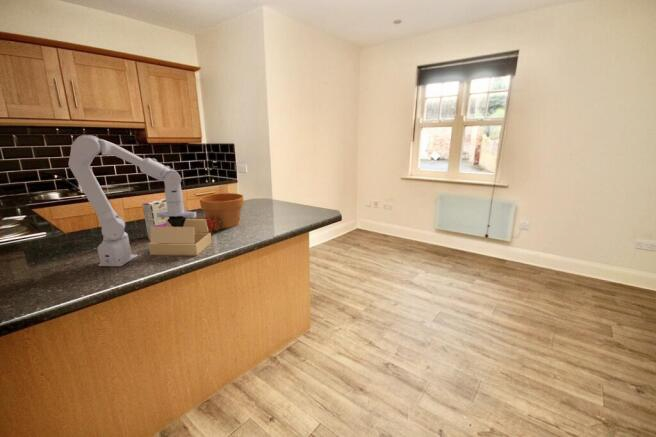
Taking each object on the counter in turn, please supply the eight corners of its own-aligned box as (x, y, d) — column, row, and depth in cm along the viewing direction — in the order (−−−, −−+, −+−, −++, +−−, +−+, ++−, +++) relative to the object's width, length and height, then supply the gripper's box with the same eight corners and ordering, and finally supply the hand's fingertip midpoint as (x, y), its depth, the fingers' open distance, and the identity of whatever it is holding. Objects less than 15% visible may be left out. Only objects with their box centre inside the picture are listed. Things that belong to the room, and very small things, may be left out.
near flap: (194, 243, 109) (193, 243, 108) (151, 242, 109) (150, 242, 108) (194, 227, 109) (193, 227, 108) (151, 226, 109) (150, 226, 108)
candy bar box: (166, 232, 137) (161, 198, 132) (175, 232, 136) (170, 198, 131) (147, 239, 126) (141, 203, 122) (157, 240, 125) (151, 204, 121)
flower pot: (237, 231, 139) (235, 201, 135) (194, 230, 139) (191, 200, 135) (250, 219, 159) (248, 193, 155) (212, 218, 160) (210, 192, 156)
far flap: (169, 231, 122) (170, 231, 122) (208, 232, 122) (208, 231, 122) (165, 219, 118) (166, 218, 119) (205, 219, 118) (205, 219, 119)
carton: (197, 255, 110) (195, 244, 109) (150, 255, 110) (148, 244, 108) (211, 242, 123) (210, 232, 122) (169, 242, 123) (168, 232, 122)
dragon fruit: (225, 233, 141) (200, 241, 134) (218, 220, 144) (194, 228, 138) (226, 222, 135) (200, 230, 128) (218, 209, 138) (192, 217, 131)
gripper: (198, 199, 114) (201, 231, 118) (161, 198, 114) (166, 231, 117) (189, 203, 107) (194, 237, 111) (151, 202, 107) (156, 237, 111)
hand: (179, 234), depth 114 cm, fingers closed
